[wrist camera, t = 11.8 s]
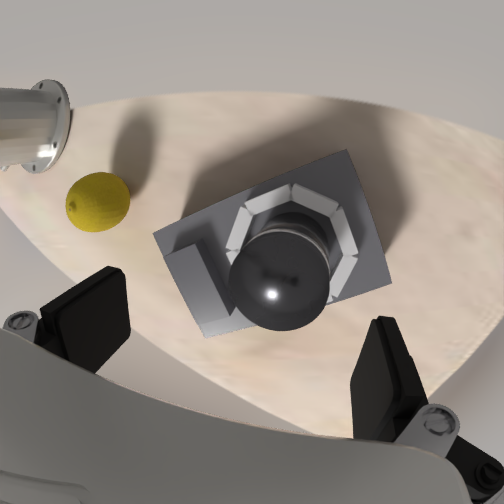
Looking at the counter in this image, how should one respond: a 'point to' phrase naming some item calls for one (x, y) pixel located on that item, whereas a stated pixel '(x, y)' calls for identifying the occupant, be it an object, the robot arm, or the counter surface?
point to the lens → (282, 273)
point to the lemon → (97, 202)
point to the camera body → (253, 220)
